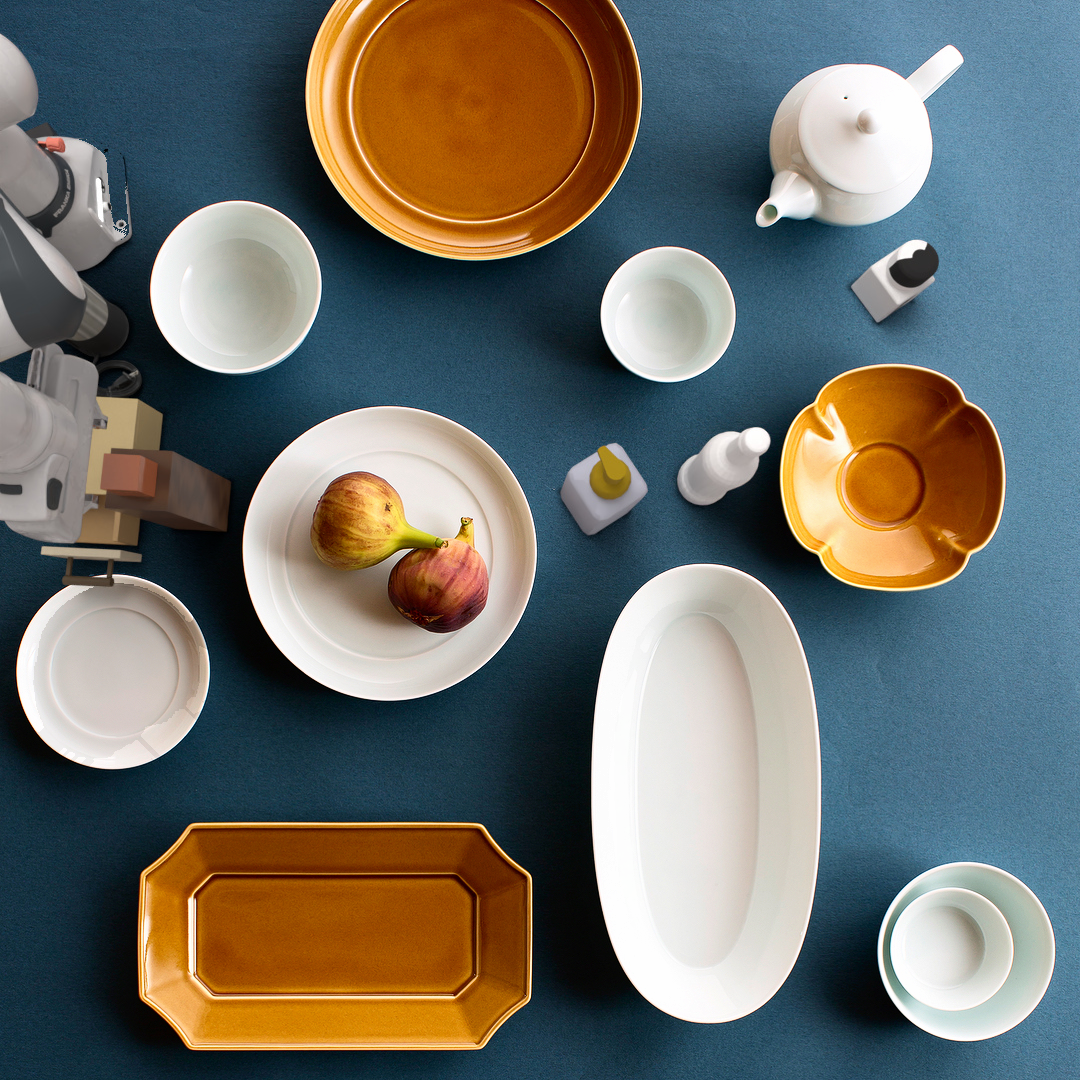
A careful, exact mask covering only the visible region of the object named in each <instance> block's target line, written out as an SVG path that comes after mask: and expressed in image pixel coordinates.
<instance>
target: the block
mask: <svg viewBox="0 0 1080 1080" xmlns="http://www.w3.org/2000/svg"><path fill="white" fill-rule="evenodd" d="M157 468H158V463H156V462H154V461H151V460H149V459H147V458H145V457H143V456H141V455H125V454H106V453H104V457H103V466H102V475H101V484H100V489H102V490H105V491H108V492H111V493H114V494H117V495H120V496H138V497H155V488H156V478H157Z"/></svg>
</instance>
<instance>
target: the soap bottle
mask: <svg viewBox="0 0 1080 1080" xmlns="http://www.w3.org/2000/svg"><path fill="white" fill-rule="evenodd" d="M648 491H649V490H648V485H647V483H646V481H645V480H644V478H643V477H642V475H641V473H640V471H638V469H637V468H636V466H635V465H634V462H633V461H632V460H631V458H630V457H629V455H628V454H627V452H626V451H625V450H624V448H623V446H621V445H620V444H618V443H617V442H614V443H608V444H606V445H602V446H600V447H599V448H598V449H597V450H596V451H595V452H594V453H592V454H591V455H589V456H588V457H586V458H584V459H583V460H581V461H580V462H578V463H577V464H575V465H573V466H572V467H570V469H569V470H568V472H567V473H566V476H565V479H564V482H563V484H562V487H561V489H560V492H559V494H560V498H561V500H562V502H563V503H564V505H565V506H566V508H567V510H568V511H569V512H570V514H571V516H572V518H573V519H574V521H575V522H576V524H577V525H578V526H579V528H580V530H581V531H582V532H583V533H584V534H585V535H587V536H591V535H596V534H597V533H598V532H600V531H601V530H603V529H605V528H606V527H608V526H609V525H611V524H613V523H614V522H615V521H617V520H619V519H620V518H622V517H623V516H625V515H627V514H628V513H629V512H630V511H631V510H633V508H634V507H635V506H636V505H637V504H638V503H639V502H640V501H642V499H643V498H645V496H646V494H647V493H648Z"/></svg>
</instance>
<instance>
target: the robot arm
mask: <svg viewBox="0 0 1080 1080" xmlns="http://www.w3.org/2000/svg"><path fill="white" fill-rule="evenodd" d="M38 103H39V87H38V82H37V77H36V74H35V72H34V70H33V68H32V66H31V63H30V62H29V60H28V59H27V58H26V56H25V55H24V54H23V52H22V51H21V50H20V49H19V48H18V46H16V45H15V43H13V42H12V41H11V40H10V39H9V38H7V37H6V36H4V34H2V33H0V363H3V362H5V361H7V360H9V359H11V358H14V357H16V356H19V355H20V354H21V355H22V354H23V353H26V352H27V351H28V350H30V349H33V348H35V349H33V352H32V354H31V356H30V358H31V359H30V361H29V364H28V370H27V376H26V377H27V378H26V383H22V382H19V381H15V380H13V378H11V376H8V375H7V374H6V373H4V372H2V371H0V521H4V522H5V525H7V527H8V528H10V530H12V531H13V532H15V533H17V534H18V535H19V534H20V536H21V535H22V536H24V537H26V538H29V539H33V540H36V541H39V542H43V543H52V544H53V543H54V544H75V543H76V541H77V540H78V539H79V537H80V535H81V527H82V519H83V514H84V513H86V512H87V511H88V510H89V509H98V504H99V496H96V495H93V494H86V495H85V492H86V483H87V475H88V466H89V457H90V448H91V439H92V431H93V429H102V430H106V429H107V422H108V417H107V416H105V415H103V414H102V412H101V409H100V407H99V405H98V402H97V400H96V397H97V396H96V395H97V387H98V386H99V385H98V384H99V377H100V376H99V375H100V374H99V375H98V372H97V369H96V367H95V366H96V364H95V365H94V364H92V363H93V362H90V361H88V360H86V359H84V358H82V357H78V356H77V355H73V354H65V353H64V351H63V350H62V349H63V348H61V347H60V346H59V345H58V344H56V343H59V342H62V341H64V340H66V339H69V338H72V337H74V335H75V334H76V332H77V330H78V329H79V327H80V325H81V322H82V320H83V317H84V314H85V311H86V306H87V301H88V296H87V293H86V290H85V288H84V286H83V284H82V282H81V280H80V278H81V277H80V276H79V274H77V273H78V272H82V271H85V270H88V269H91V268H93V267H95V266H96V265H99V263H101V262H103V260H105V259H106V258H107V257H108V256H109V254H110V253H111V252H112V251H113V250H114V249H115V248H116V247H119V246H120V245H123V244H124V243H126V242H127V241H129V240H130V239H131V237H132V235H133V229H132V219H131V208H130V199H129V189H128V185H127V186H126V187H127V189H126V190H125V194H126V204H127V214H128V224H129V233H128V235H127V236H126V234H125V233H126V232H125V233H123V232H124V231H123V230H125V228H124V227H125V226H126V225H127V224H126V222H125V221H124V220H122V219H121V220H118V221H117V222H116V225H115V224H114V222H113V218H112V214H111V213H112V212H111V210H112V206H111V203H110V194H109V185H108V173H107V162H106V160H107V159H106V157H105V155H104V154H103V153H102V152H101V151H100V150H98V149H97V148H96V147H94V146H93V145H91V144H89V143H87V142H85V141H82V140H79V139H80V138H74V137H70V136H60V135H59V134H58V132H57V131H56V130H55V129H54V128H53V127H52V126H51V125H50V124H49V122H47V121H46V122H44V123H42V124H39V125H37V126H35V127H32V128H30V129H28V130H26V131H24V130H23V129H22V128H21V126H19V125H18V124H19V123H21V122H22V121H25V120H26V119H29V118H31V117H33V116H34V115H35V113H36V111H37V107H38ZM125 183H126V182H125ZM126 187H125V188H126ZM127 190H128V191H127ZM122 225H123V226H122ZM113 226H115V227H117V228H118V229H122V230H121V231H123V232H122V233H121V231H120V232H119V230H118V231H117V229H116V230H115V228H114V227H113ZM123 228H124V229H123ZM125 231H127V229H126V230H125ZM124 234H125V235H124ZM125 236H126V237H125ZM124 237H125V238H124ZM121 239H122V240H121ZM74 269H75V270H76V271H77V273H76V271H75V270H74ZM79 277H80V278H79Z"/></svg>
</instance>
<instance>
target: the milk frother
mask: <svg viewBox="0 0 1080 1080" xmlns="http://www.w3.org/2000/svg"><path fill="white" fill-rule="evenodd" d="M74 270H75V269H74ZM75 271H76V270H75ZM76 273H77V274H78V271H76ZM78 275H79V274H78ZM79 278H80V280H81V282H82V284H83V286H84V288H85V290H86V293H87V296H88V301H87V306H86V311H85V314H84V317H83V320H82V322H81V325H80V327H79V329H78V330H77V332H76V334H75V335H74V337H72V338H69V339H66V340H63V341H64V342H66V343H67V344H69V345H70V346H71V347H73V348H75V349H77V350H79V351H80V352H81V353H83V354H84V355H87V356H89V357H93V361H92V362H91V363H92V364H94V365H95V367H96V369H97V372H98V375H100V374H102V372H104V371H106V370H109V369H123V370H126V371H128V372H130V373H127V372H125V371H122V375H120V376H119V377H118V378H117V379H116V380H115V381H113V383H112V384H111V385H110V386H107V388H103V387H102V386H99V385H98V387H97V395H96V397H111V398H129V397H130V396H132V395H134V394H135V393H136V392H137V391H139V390H140V388H141V386H142V383H143V377H142V374H141V372H140V371H139V369H138V368H137V367H136V366H135V365H134V364H132V363H131V362H129V361H127V360H120V359H112V360H106V361H103V362H101V363H98V364H97V362H98V361H99V359H100V358H102V357H103V358H104V357H107V356H110V355H112V354H114V353H116V352H118V351H119V350H120V349H121V348H122V347H123V346H124V344H125V343H126V341H127V340H128V337H129V332H130V323H129V321H128V318H127V315H126V314H125V312H124V311H123V310H122V308H120V307H118V306H117V305H115V304H113V303H111V302H110V301H108V300H107V299H106V298H105V297H103V296H102V295H101V294H100V293H99V292H97V291H96V290H95V289H94V288H93V287H91V286H90V285H89V284H88V283H87V282H86V281H84V280H83V278H81V277H80V276H79ZM33 349H35V348H33ZM33 349H30V350H28V351H26V352H27V353H28V354H30V355H32V352H33Z"/></svg>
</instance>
